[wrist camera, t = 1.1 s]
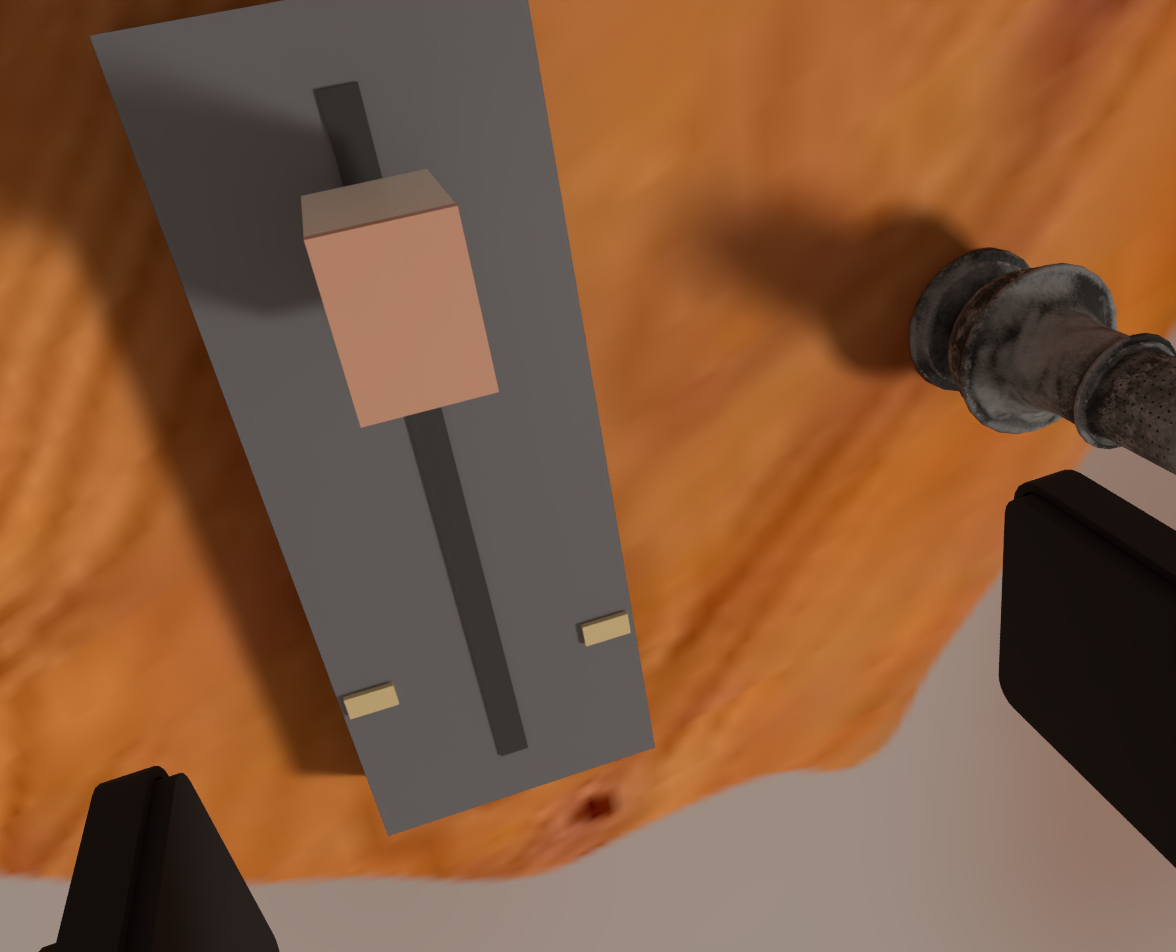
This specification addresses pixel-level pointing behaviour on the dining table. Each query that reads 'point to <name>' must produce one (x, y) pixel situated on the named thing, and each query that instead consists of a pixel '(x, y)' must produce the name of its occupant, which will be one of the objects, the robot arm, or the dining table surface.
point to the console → (419, 441)
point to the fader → (398, 295)
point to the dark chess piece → (1045, 354)
